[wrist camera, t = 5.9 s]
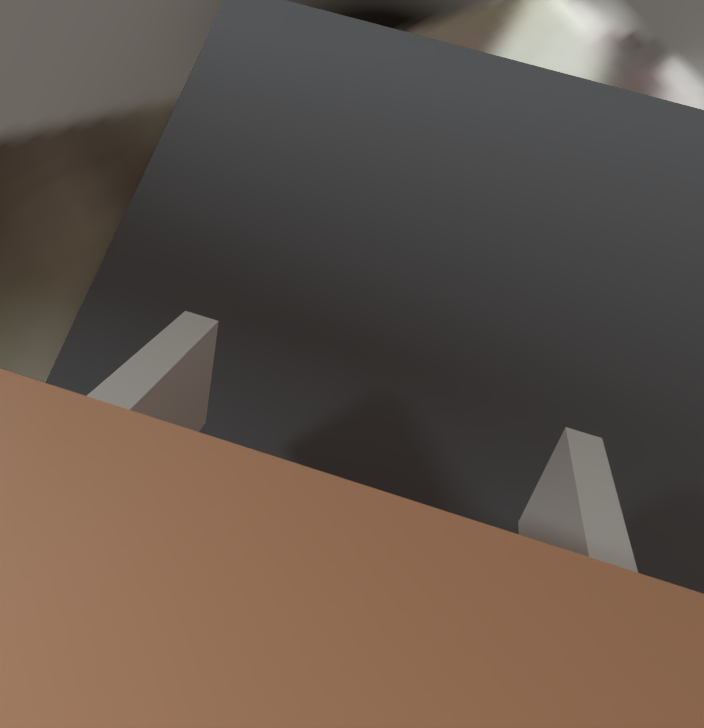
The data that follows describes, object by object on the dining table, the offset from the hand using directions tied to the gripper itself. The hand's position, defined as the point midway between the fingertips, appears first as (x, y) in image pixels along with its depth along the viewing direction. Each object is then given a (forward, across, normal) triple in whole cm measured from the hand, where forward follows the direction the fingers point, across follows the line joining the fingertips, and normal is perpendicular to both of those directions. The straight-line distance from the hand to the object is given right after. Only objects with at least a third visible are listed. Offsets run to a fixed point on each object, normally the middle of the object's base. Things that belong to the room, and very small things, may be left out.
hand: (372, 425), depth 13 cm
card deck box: (0, 0, -5) cm, 5 cm away
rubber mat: (+5, +2, 0) cm, 6 cm away
